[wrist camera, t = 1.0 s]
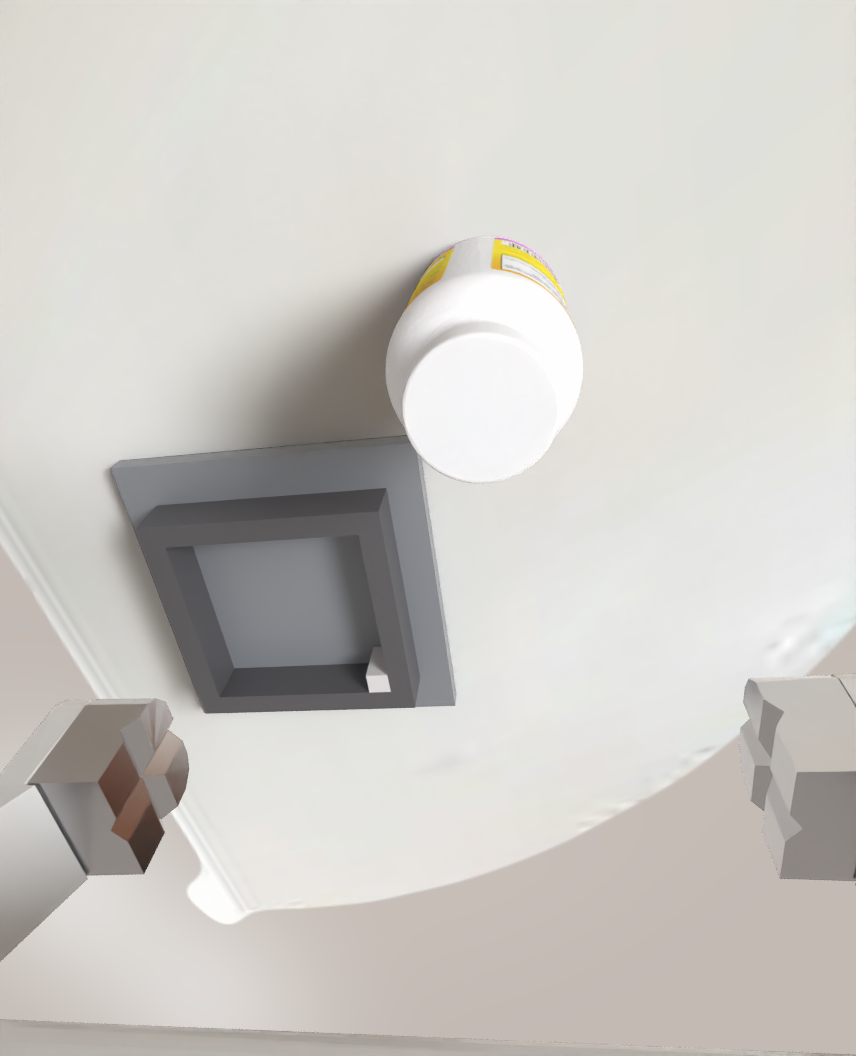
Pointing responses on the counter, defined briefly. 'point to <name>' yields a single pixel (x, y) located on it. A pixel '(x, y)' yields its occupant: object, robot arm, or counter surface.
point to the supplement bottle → (484, 361)
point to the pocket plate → (297, 574)
